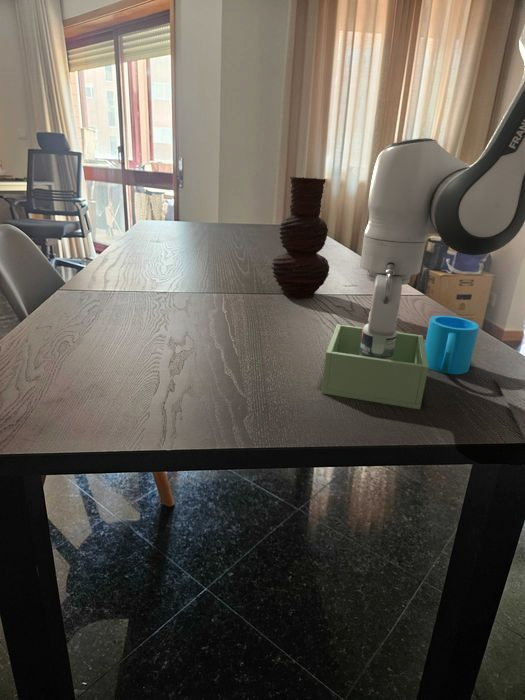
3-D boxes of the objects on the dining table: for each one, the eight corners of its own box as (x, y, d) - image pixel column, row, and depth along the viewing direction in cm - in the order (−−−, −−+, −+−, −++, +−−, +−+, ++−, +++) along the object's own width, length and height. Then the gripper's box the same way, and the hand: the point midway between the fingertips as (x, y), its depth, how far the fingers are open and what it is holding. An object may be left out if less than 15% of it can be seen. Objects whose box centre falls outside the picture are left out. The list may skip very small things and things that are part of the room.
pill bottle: (353, 359, 78) (360, 308, 75) (384, 359, 79) (392, 308, 75) (363, 372, 73) (371, 318, 70) (395, 372, 74) (405, 318, 70)
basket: (415, 371, 82) (422, 335, 79) (420, 409, 69) (428, 367, 66) (332, 359, 85) (336, 324, 83) (321, 393, 72) (326, 352, 69)
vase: (275, 285, 136) (282, 175, 125) (328, 291, 133) (340, 179, 122) (264, 298, 122) (272, 176, 111) (323, 305, 119) (337, 180, 108)
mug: (423, 353, 91) (431, 313, 88) (468, 361, 88) (478, 320, 85) (417, 376, 80) (426, 330, 77) (468, 386, 77) (479, 340, 74)
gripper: (416, 273, 59) (398, 373, 64) (411, 250, 78) (397, 328, 83) (365, 268, 61) (352, 366, 66) (372, 246, 79) (361, 324, 84)
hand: (377, 345), depth 74 cm, fingers closed on pill bottle, 5 cm apart
